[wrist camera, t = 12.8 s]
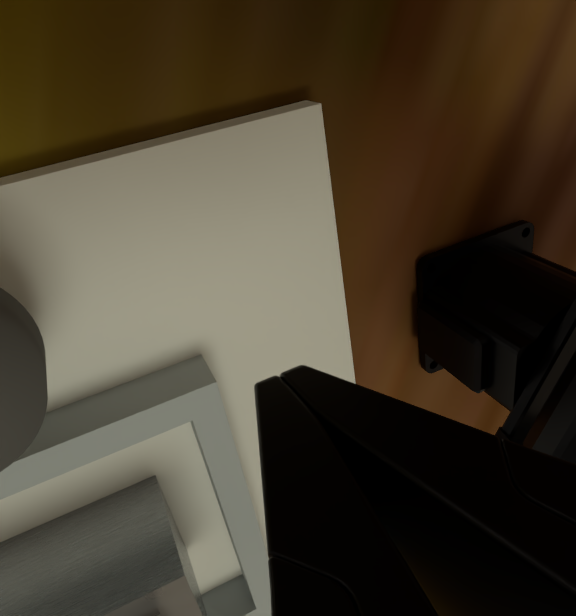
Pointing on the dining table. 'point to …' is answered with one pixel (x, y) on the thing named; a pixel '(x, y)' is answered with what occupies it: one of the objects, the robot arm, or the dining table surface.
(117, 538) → the block
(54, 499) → the chassis
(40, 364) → the wheel
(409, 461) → the robot arm
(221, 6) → the dining table surface
